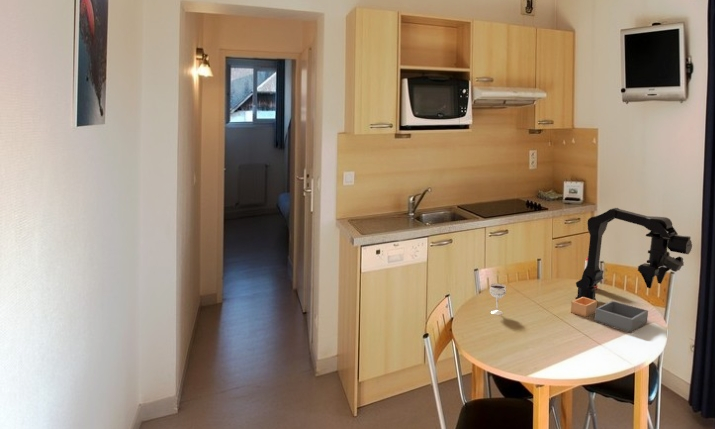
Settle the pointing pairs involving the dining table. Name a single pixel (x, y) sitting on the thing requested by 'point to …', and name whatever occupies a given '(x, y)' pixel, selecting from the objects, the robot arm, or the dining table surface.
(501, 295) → the wineglass
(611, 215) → the robot arm
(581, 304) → the orange crate
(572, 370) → the dining table surface
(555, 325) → the dining table surface
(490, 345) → the dining table surface
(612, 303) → the grey open box
